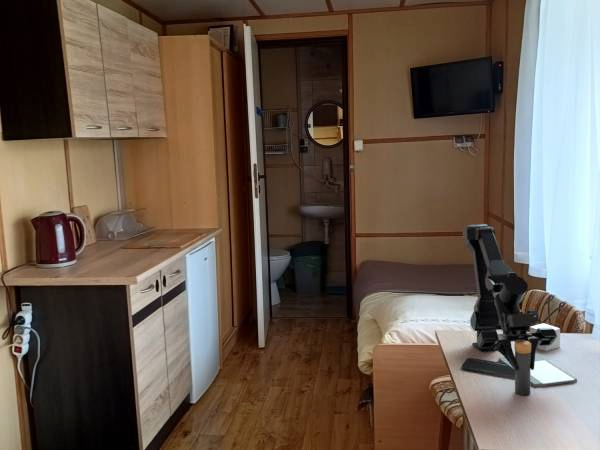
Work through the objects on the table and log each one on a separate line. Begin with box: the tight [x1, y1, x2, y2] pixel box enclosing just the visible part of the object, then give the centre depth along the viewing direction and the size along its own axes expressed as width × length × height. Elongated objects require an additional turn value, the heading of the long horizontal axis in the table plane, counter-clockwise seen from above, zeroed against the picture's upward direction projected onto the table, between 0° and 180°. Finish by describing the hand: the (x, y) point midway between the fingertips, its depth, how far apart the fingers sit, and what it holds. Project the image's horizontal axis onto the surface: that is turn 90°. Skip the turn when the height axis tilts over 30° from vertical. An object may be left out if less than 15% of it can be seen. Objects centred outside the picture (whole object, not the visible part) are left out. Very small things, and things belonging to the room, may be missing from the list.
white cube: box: [529, 322, 561, 352], centre depth 162 cm, size 6×6×6 cm
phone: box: [461, 357, 515, 380], centre depth 148 cm, size 8×1×15 cm
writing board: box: [498, 352, 578, 388], centre depth 146 cm, size 18×12×1 cm, turn 8°
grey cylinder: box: [514, 340, 531, 396], centre depth 133 cm, size 4×4×13 cm
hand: (524, 369), depth 132 cm, fingers closed on grey cylinder, 4 cm apart
